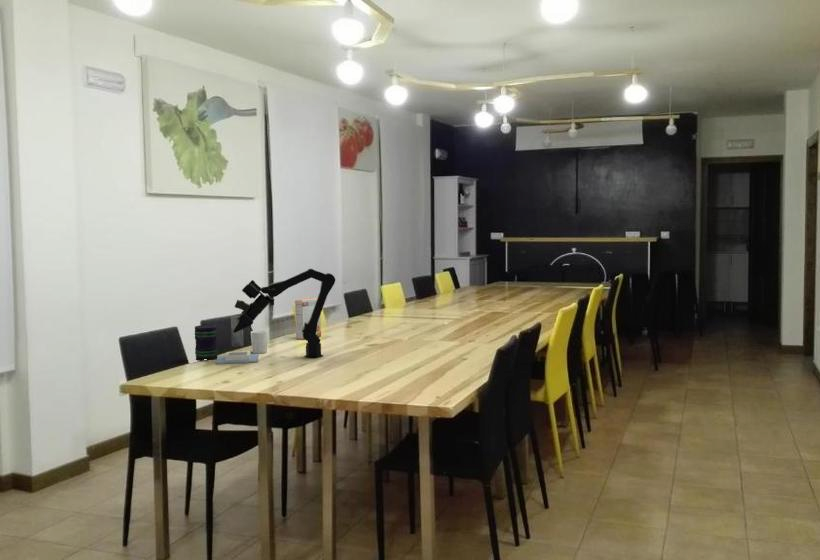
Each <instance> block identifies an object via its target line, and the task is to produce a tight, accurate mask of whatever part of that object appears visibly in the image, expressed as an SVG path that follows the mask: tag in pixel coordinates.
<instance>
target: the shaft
mask: <svg viewBox="0 0 820 560" xmlns="http://www.w3.org/2000/svg"><path fill="white" fill-rule="evenodd" d="M239 317H240V315H235V316H231V317H230V326H231V347H243V346H244V329H242V330H240V331H238V332H236V333H234V332H233V330H234V329H235V327H236V326H237V324H238V323H239Z"/></svg>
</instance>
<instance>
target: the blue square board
mask: <svg viewBox="0 0 820 560" xmlns="http://www.w3.org/2000/svg"><path fill="white" fill-rule="evenodd" d="M259 356H260V354H256V353H251V351H249V350H246V351H226V353H225V354H224V355H223V354H222V355H221V354H220V355H217V357H218V359H216V361H215V365H231V364H230V363H238V364H249V363H248V362H258V363H259V358H260V357H259ZM258 357H259V358H258Z"/></svg>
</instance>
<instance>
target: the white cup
mask: <svg viewBox="0 0 820 560" xmlns="http://www.w3.org/2000/svg"><path fill="white" fill-rule="evenodd" d="M250 341H251V348H252V354H256V353H260V354H265V352H266V353H268V331H267V330H252V331H250Z"/></svg>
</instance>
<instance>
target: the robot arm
mask: <svg viewBox="0 0 820 560" xmlns="http://www.w3.org/2000/svg"><path fill="white" fill-rule="evenodd" d="M309 279H313V280H315V281H316V280H317V281H319V282H320V288H319V293H318V296H317V297H316V298H317V301H316V304H315V306H314V309H313V312H312V315H311V318H310V320H309V321H308V323H306V322H305V323H304V327H303V329H302V332H303V333H302V334H303V338H304V339H305V340H304V341H306V342H307V343H306V344H305V345H306V346H305V355H304V356H303V357H305V358H312V359H316V358H320V357H324V354H322V343H321V338H320V337H318V336H317V335H316V330H317V323H318V320H319V317H320V314H322V311H323V308H324V306H325V303H326V300H327V298H328V295H329V294H330V292H331V290H332V289H333V287H334V285H335V283H336V278H335V276H334V275H333V274H332V273H330V272H326V273H324V272H321V271H317V270H315V269H313V268H308V269H307V270H305V271H303V272H300V273H299V274H296V275H294V276H292V277H289V278H287V279H285V280H281V281H277V282H273V283H270V284H268V286H263V287H261V286H260V285H258V284H257V283H256V281H255V280H253V279H251V281H250V282H248V283H247V284H245V286H244V287H243V288H242V290H241V291H242V293H244V294H245V295H246V296H247V297H248V298H250V299H254V300H253V301H252V302H250V303H246V301H244V300H242V299H241V300H239V299H237V300H236V303H235V304H234V308H236V309H239V310H241V312H240V315H239V316H240V317H239V323H238V324H237V326H236V327H235V329H234V330H233V332H234V333H236V332H238V331H240V330H242V329H243V330H244V329H246V328H249V327H251V326H253V324H254V321H255V320H256V318H258V316H259V315H261V313H262V312H263V311H264V310H265V308H267V307H268V306H269V305H272V306H274V305H275V299H274V298H275V297H278V296H279V295H281V294H282V293H284V292H285V291H287V289H289V288H291V287H293V286H296V285H298V284H300V283H303V282H305V281H308V280H309ZM265 294H267V295H265Z"/></svg>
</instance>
